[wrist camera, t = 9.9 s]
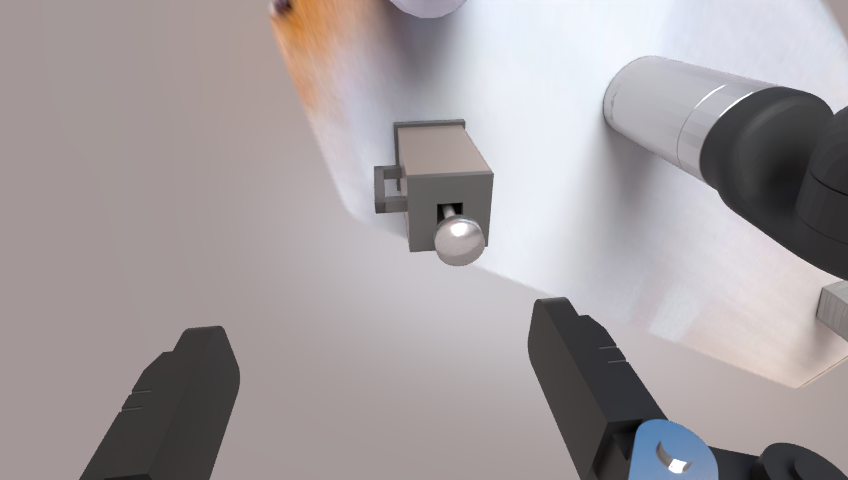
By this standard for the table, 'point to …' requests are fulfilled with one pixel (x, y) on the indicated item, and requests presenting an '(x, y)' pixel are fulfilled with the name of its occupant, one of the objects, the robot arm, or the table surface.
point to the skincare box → (835, 308)
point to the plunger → (458, 238)
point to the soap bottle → (428, 7)
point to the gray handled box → (435, 179)
